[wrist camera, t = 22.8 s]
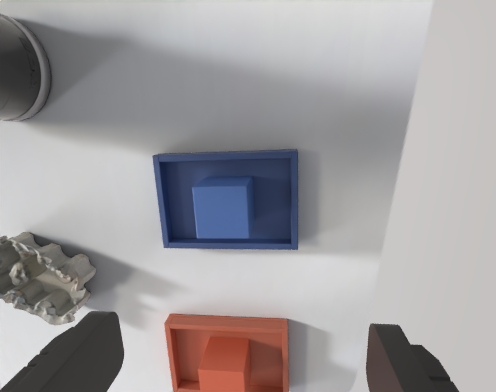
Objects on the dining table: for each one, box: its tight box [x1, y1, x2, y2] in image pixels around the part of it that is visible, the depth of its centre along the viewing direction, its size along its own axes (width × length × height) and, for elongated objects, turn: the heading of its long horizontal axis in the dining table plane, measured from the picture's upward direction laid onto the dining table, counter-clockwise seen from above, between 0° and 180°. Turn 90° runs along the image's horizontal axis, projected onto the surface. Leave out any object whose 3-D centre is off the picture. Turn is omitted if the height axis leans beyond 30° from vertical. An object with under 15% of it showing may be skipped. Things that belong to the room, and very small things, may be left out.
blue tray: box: [153, 149, 298, 250], centre depth 28 cm, size 13×9×2 cm
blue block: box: [192, 176, 255, 238], centre depth 26 cm, size 4×4×4 cm
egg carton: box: [0, 232, 96, 325], centre depth 32 cm, size 11×8×4 cm
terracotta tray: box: [164, 314, 289, 392], centre depth 33 cm, size 13×9×2 cm
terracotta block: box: [198, 337, 251, 392], centre depth 31 cm, size 4×4×4 cm
